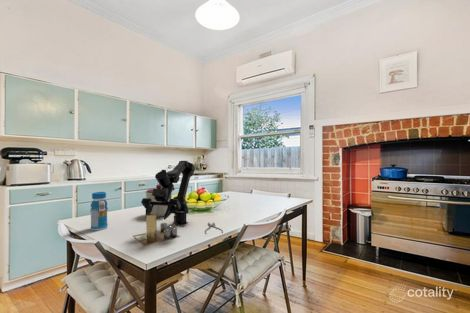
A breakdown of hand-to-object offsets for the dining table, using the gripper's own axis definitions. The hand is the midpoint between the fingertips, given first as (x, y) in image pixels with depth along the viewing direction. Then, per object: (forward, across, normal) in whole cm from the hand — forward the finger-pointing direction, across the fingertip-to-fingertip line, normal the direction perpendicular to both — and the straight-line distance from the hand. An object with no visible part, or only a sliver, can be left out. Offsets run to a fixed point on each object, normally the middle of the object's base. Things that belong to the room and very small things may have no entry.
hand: (155, 218), depth 110 cm
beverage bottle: (-3, -41, +18) cm, 45 cm away
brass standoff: (+9, 0, +4) cm, 10 cm away
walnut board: (+5, -1, +10) cm, 11 cm away
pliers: (-8, +20, +24) cm, 33 cm away
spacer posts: (+2, +1, +11) cm, 11 cm away
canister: (-26, -22, +40) cm, 53 cm away
